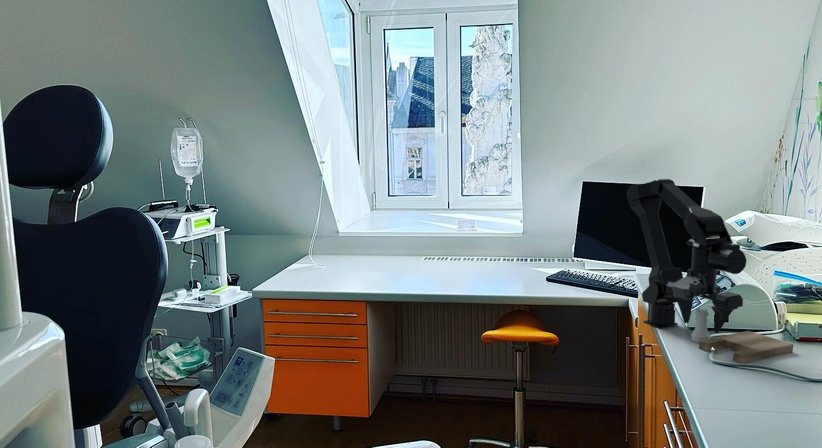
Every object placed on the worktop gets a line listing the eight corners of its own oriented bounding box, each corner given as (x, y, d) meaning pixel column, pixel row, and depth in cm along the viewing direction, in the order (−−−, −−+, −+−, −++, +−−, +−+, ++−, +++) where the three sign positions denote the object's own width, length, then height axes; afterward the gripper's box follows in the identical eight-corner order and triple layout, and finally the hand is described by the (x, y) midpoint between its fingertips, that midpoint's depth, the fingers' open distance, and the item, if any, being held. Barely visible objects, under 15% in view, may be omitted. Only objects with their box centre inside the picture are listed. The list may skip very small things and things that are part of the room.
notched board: (699, 348, 164) (699, 340, 164) (747, 338, 171) (748, 330, 171) (742, 364, 153) (742, 355, 153) (792, 352, 161) (793, 344, 160)
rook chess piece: (705, 338, 172) (706, 307, 171) (713, 343, 168) (715, 312, 166) (687, 338, 172) (689, 307, 171) (695, 344, 167) (697, 312, 166)
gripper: (650, 262, 172) (648, 322, 174) (712, 276, 155) (708, 343, 157) (683, 258, 177) (680, 316, 179) (746, 271, 160) (742, 336, 162)
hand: (701, 327), depth 169 cm, fingers open, 9 cm apart
